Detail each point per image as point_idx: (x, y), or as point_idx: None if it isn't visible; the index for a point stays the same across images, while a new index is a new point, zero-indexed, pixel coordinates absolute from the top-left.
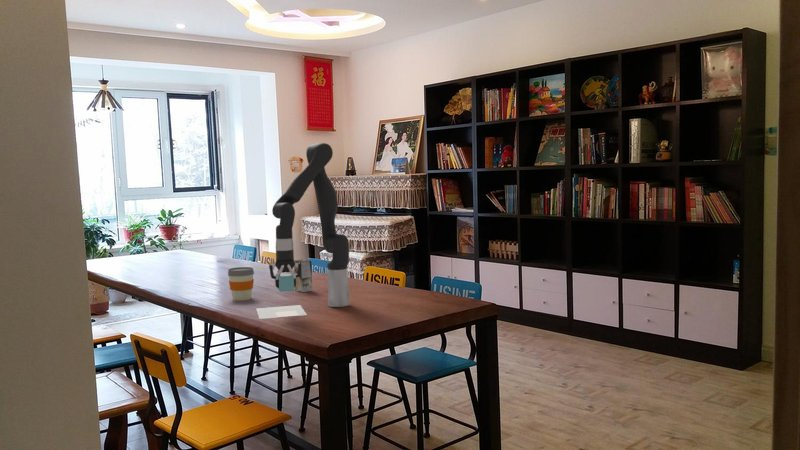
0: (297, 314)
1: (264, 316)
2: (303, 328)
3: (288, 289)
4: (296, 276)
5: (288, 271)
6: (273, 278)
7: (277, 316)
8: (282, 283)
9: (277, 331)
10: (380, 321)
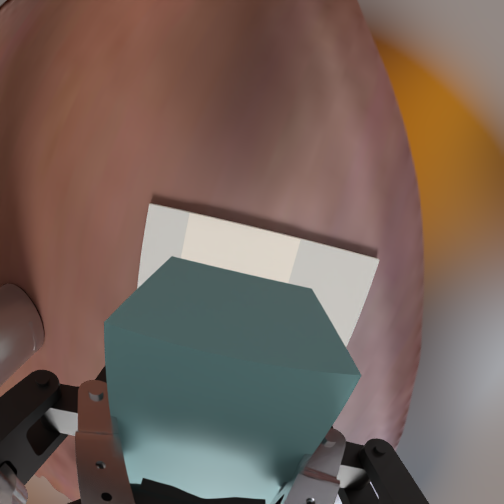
0: (188, 237)
1: (342, 296)
2: (262, 5)
3: (226, 274)
4: (72, 396)
5: (153, 491)
6: (360, 445)
7: (295, 254)
8: (299, 321)
9: (367, 29)
10: (26, 23)
